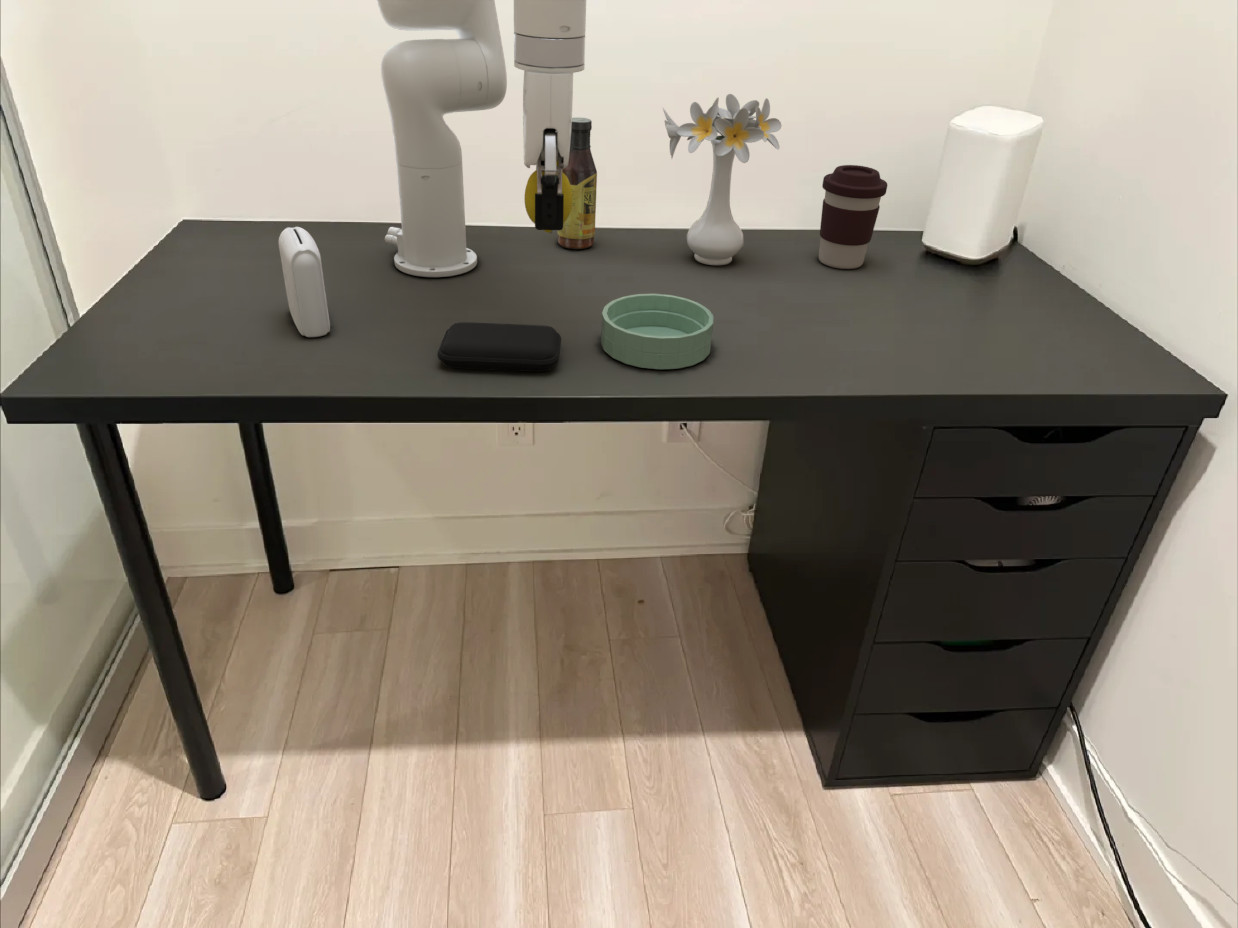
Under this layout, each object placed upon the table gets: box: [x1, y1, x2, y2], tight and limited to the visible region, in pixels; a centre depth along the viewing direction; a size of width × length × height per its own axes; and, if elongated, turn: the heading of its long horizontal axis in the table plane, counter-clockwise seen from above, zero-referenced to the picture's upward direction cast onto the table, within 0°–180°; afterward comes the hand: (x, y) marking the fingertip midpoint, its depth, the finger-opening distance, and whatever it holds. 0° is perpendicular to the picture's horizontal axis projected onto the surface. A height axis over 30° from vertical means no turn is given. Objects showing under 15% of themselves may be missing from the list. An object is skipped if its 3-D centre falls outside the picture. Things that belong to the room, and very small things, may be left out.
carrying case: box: [436, 321, 562, 373], centre depth 111 cm, size 11×3×15 cm
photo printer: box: [278, 226, 331, 338], centre depth 114 cm, size 10×4×12 cm, turn 26°
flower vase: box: [662, 93, 783, 266], centre depth 138 cm, size 13×18×25 cm
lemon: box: [524, 169, 572, 234], centre depth 103 cm, size 6×6×8 cm
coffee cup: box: [818, 164, 888, 270], centre depth 143 cm, size 10×10×15 cm
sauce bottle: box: [556, 117, 598, 250], centre depth 143 cm, size 6×6×20 cm
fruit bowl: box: [600, 293, 715, 370], centre depth 115 cm, size 14×14×4 cm
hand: (548, 218), depth 104 cm, fingers closed on lemon, 5 cm apart
